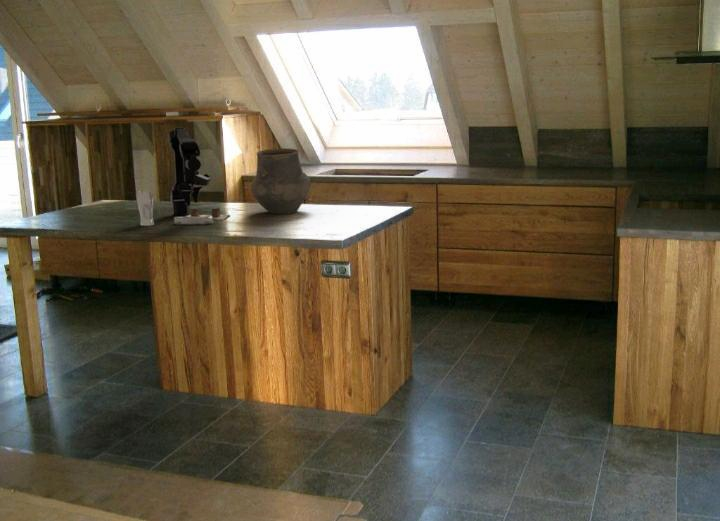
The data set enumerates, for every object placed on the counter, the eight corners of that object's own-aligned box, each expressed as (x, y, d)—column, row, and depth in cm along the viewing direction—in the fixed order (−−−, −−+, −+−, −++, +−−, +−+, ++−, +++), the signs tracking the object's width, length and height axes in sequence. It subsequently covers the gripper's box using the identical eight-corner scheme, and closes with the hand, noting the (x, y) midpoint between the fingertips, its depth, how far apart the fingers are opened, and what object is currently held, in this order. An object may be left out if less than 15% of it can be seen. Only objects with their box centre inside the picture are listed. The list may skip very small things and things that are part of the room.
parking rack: (181, 220, 383) (180, 210, 382) (189, 217, 394) (188, 206, 393) (222, 220, 380) (222, 209, 379) (230, 216, 390) (229, 206, 389)
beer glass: (136, 225, 375) (133, 192, 372) (150, 223, 380) (148, 190, 376) (143, 226, 370) (140, 193, 367) (157, 224, 374) (155, 191, 371)
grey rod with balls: (173, 224, 374) (172, 217, 373) (176, 223, 378) (176, 216, 377) (211, 224, 371) (211, 217, 370) (214, 222, 375) (214, 216, 374)
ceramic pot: (315, 207, 411) (313, 146, 405) (306, 216, 384) (303, 151, 377) (259, 208, 414) (256, 148, 408) (246, 217, 387) (242, 153, 380)
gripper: (200, 171, 359) (202, 207, 362) (214, 166, 377) (216, 200, 380) (175, 171, 361) (178, 207, 364) (190, 167, 379) (193, 201, 382)
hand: (192, 204), depth 373 cm, fingers open, 9 cm apart
